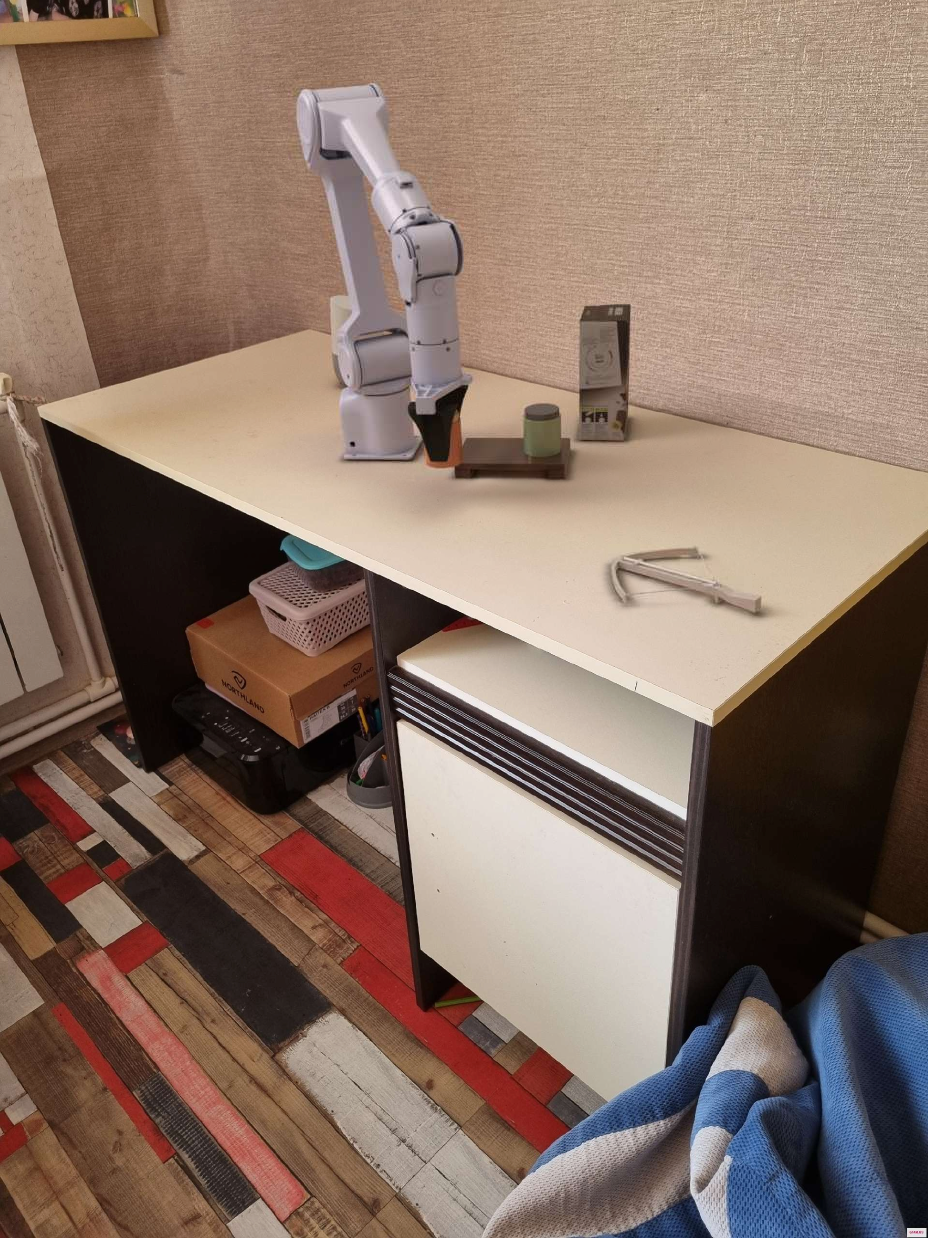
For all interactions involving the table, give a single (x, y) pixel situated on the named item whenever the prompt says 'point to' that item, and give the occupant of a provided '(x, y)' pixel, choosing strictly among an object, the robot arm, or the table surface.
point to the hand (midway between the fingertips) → (443, 452)
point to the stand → (509, 457)
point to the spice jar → (451, 447)
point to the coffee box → (604, 372)
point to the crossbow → (680, 577)
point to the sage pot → (542, 430)
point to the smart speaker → (338, 318)
